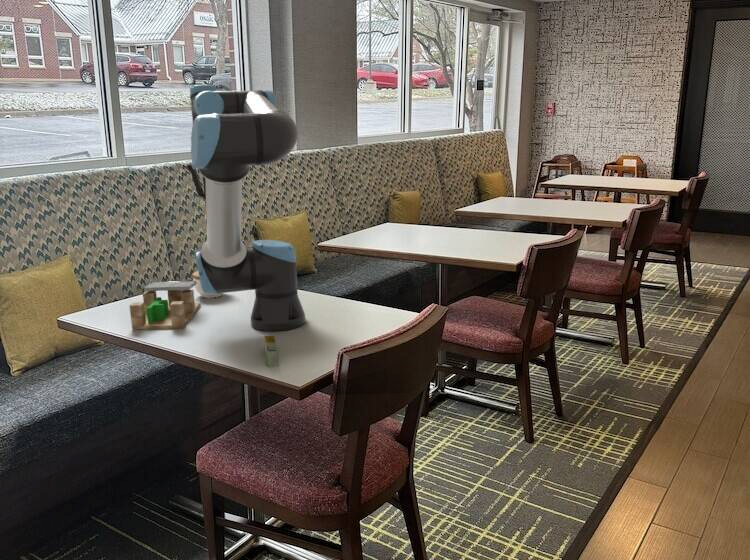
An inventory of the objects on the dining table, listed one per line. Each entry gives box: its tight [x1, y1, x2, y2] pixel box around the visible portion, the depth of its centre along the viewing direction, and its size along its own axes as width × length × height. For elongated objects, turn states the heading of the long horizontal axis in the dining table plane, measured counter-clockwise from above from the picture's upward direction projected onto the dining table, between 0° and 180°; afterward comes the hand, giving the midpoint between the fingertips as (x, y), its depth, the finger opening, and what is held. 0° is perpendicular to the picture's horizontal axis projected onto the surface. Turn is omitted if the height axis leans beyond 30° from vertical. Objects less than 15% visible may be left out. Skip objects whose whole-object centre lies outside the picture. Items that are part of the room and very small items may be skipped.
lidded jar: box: [192, 270, 223, 299], centre depth 220 cm, size 11×11×9 cm
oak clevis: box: [129, 289, 201, 330], centre depth 198 cm, size 14×22×7 cm, turn 2°
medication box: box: [263, 335, 278, 368], centre depth 165 cm, size 12×3×4 cm, turn 12°
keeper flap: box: [143, 280, 196, 292], centre depth 203 cm, size 13×9×1 cm
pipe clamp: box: [147, 296, 169, 324], centre depth 195 cm, size 11×4×5 cm, turn 2°
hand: (213, 220), depth 204 cm, fingers closed
